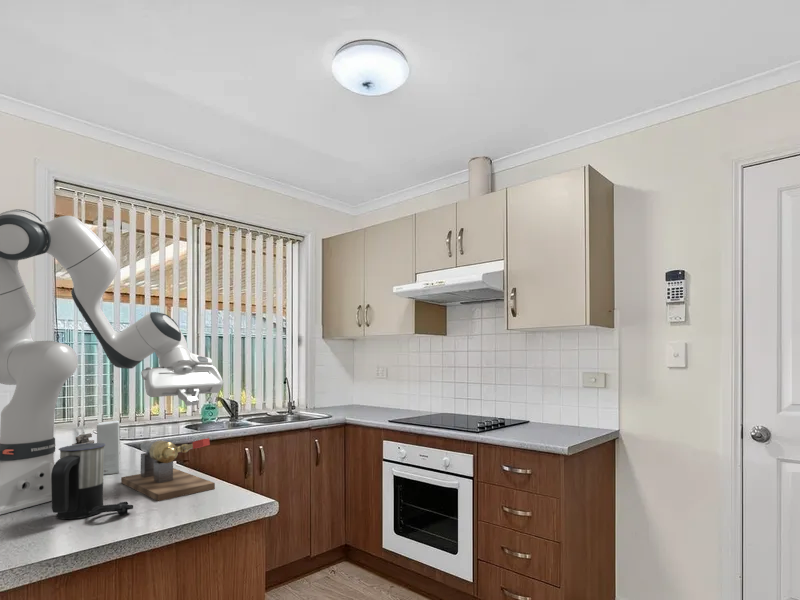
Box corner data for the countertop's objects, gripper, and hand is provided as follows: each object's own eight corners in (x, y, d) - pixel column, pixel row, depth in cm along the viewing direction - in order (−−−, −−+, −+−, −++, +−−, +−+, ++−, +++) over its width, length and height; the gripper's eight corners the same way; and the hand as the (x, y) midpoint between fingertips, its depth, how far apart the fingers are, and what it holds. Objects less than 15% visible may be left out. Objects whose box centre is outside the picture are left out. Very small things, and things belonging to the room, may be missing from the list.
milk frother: (62, 510, 122) (64, 444, 123) (139, 501, 127) (139, 438, 129) (44, 530, 109) (46, 455, 110) (130, 519, 114) (131, 448, 115)
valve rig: (121, 482, 146) (121, 439, 147) (172, 473, 156) (173, 432, 157) (158, 501, 127) (158, 451, 128) (214, 488, 137) (214, 442, 138)
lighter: (78, 469, 165) (78, 436, 166) (68, 469, 166) (69, 436, 167) (96, 463, 173) (97, 432, 174) (87, 463, 174) (88, 432, 175)
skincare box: (119, 473, 158) (119, 422, 159) (95, 476, 155) (96, 424, 157) (119, 468, 165) (120, 419, 167) (97, 470, 163) (98, 421, 164)
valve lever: (179, 445, 146) (202, 438, 136) (185, 444, 147) (209, 437, 137) (180, 453, 146) (203, 446, 136) (186, 452, 147) (210, 445, 137)
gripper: (142, 359, 142) (155, 398, 134) (216, 358, 156) (232, 393, 148) (136, 376, 145) (148, 415, 137) (209, 373, 159) (224, 408, 151)
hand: (192, 403), depth 143 cm, fingers closed
